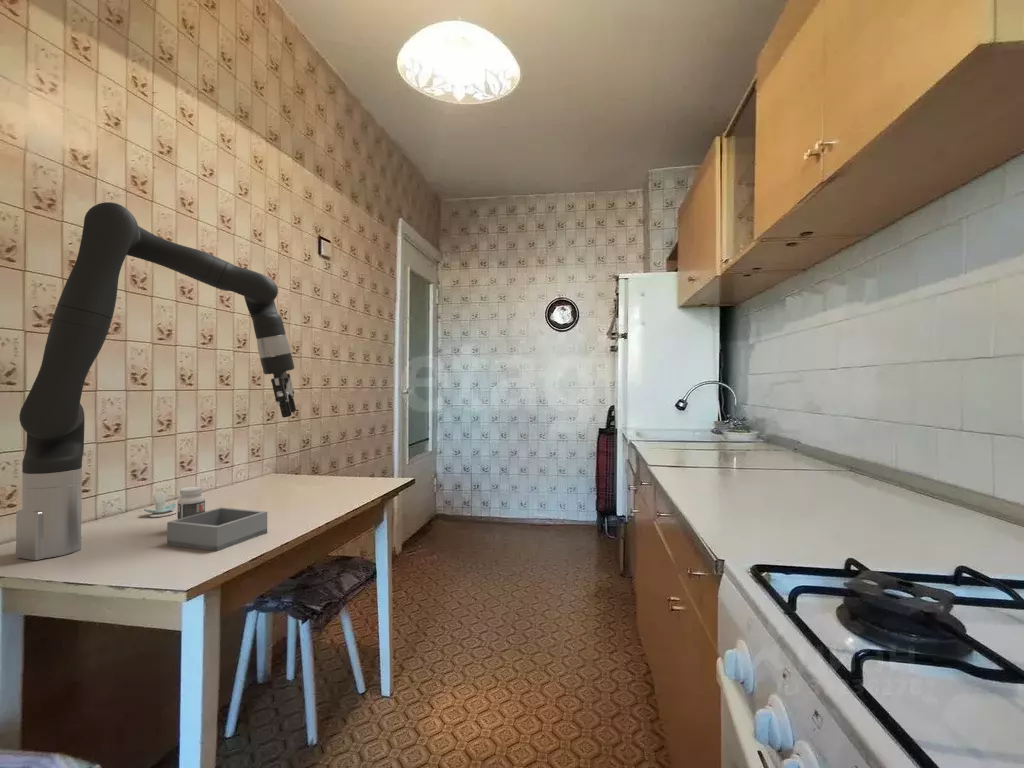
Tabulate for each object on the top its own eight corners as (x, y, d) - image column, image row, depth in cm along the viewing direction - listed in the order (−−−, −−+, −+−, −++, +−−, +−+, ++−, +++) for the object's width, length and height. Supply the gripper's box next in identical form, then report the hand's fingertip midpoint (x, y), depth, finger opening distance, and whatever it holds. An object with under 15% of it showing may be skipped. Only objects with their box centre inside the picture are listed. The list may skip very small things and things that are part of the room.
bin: (217, 551, 106) (217, 527, 106) (167, 544, 110) (167, 522, 110) (267, 532, 119) (267, 511, 119) (221, 527, 123) (221, 507, 123)
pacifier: (182, 514, 137) (170, 510, 140) (182, 491, 137) (171, 488, 140) (152, 520, 131) (140, 516, 134) (152, 496, 131) (141, 493, 134)
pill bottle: (210, 526, 125) (210, 486, 125) (193, 532, 119) (194, 491, 119) (189, 525, 125) (189, 485, 125) (171, 532, 120) (171, 490, 120)
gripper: (265, 356, 136) (279, 413, 139) (254, 357, 123) (269, 421, 125) (294, 351, 138) (307, 407, 140) (286, 352, 125) (301, 415, 127)
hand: (289, 414), depth 133 cm, fingers open, 8 cm apart
